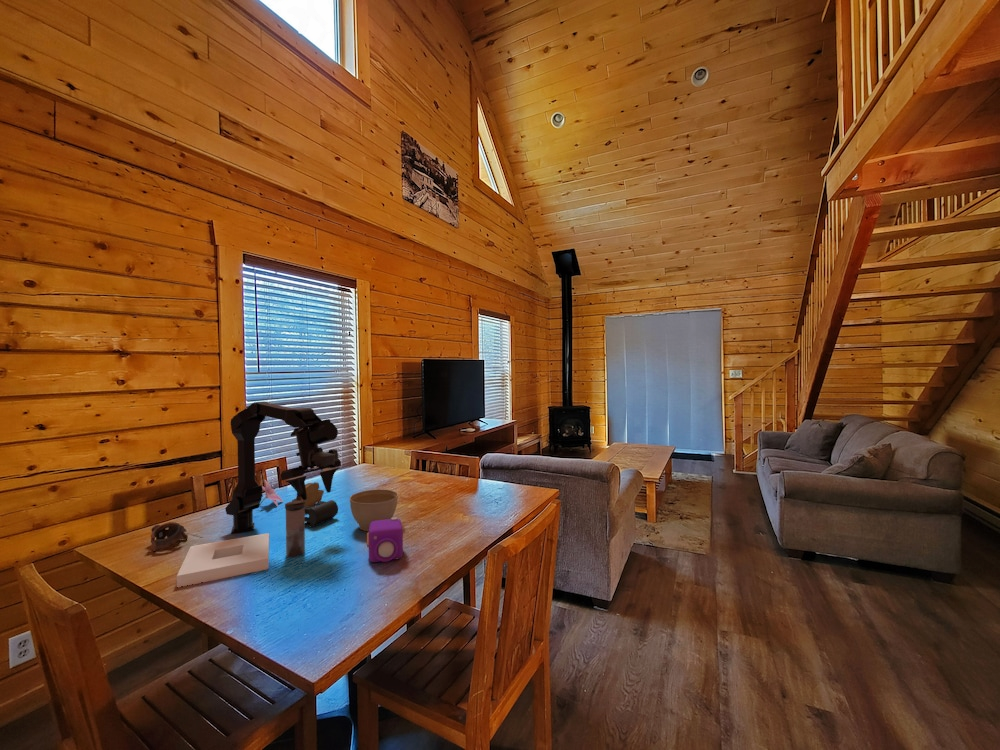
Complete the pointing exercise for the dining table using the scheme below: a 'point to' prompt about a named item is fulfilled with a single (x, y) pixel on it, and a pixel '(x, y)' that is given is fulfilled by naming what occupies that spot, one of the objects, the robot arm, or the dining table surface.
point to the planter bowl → (373, 506)
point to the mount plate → (224, 559)
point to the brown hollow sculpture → (172, 533)
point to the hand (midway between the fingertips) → (317, 496)
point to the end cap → (320, 512)
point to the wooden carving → (311, 494)
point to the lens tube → (295, 528)
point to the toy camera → (385, 540)
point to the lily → (271, 494)
